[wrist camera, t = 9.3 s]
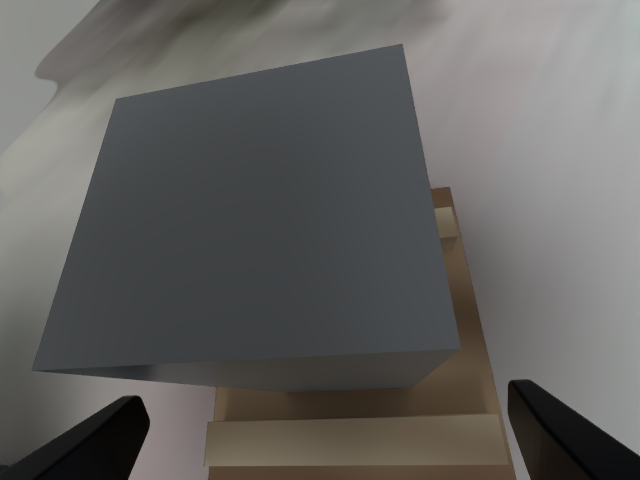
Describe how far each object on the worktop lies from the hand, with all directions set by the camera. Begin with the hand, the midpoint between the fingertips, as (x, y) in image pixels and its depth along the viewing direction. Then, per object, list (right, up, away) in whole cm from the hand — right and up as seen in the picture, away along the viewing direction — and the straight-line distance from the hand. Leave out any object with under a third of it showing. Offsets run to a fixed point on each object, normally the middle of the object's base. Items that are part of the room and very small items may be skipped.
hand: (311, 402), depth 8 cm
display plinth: (+2, -1, +10) cm, 10 cm away
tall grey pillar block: (+1, 0, +8) cm, 8 cm away
